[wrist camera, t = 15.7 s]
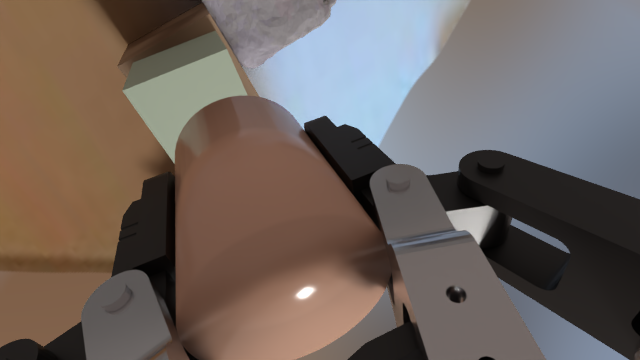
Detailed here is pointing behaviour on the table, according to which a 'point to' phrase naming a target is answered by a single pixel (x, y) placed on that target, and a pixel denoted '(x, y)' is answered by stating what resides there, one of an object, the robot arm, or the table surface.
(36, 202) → the table surface
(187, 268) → the terracotta cylinder
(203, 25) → the walnut cube
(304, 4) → the stone block
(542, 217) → the robot arm
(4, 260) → the table surface
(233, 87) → the sage cube
